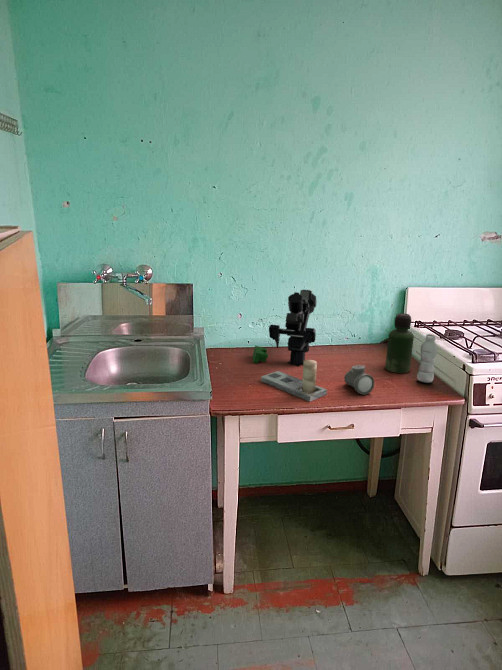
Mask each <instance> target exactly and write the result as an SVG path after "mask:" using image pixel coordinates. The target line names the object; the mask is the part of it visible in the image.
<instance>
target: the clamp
mask: <svg viewBox="0 0 502 670" xmlns="http://www.w3.org/2000/svg"><path fill="white" fill-rule="evenodd" d="M251 356H252V361H253V362H252V363H255V364H258V363H259V362H263V363H266V362H267V358H268V357H269V354H268V349H267V348H266V347H263V346H258V345H254V349H253V351H252V355H251Z"/></svg>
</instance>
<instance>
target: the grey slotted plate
mask: <svg viewBox="0 0 502 670" xmlns="http://www.w3.org/2000/svg"><path fill="white" fill-rule="evenodd" d="M302 381H303V379H301V378H297V377H295V376H292V375H290V374H287V373H285V372H282V371H279V370H277V371H274V372H271V373H268V374H264V375H262V376H260V382H261V383H264V384H267V385H269V386H272V387H274V388H276V389H279V390H281V391H284V392H286V393H289V394H291V395H293V396H296V397H298V398H301V399H302V400H305V401H307V402H312V401H315V400H317V399H320V398H321V397H324V396H327V395H328V389H326V388H324V387H321V386H319V385H315V392H314V393H312V394H308V393H305V392H303V391H302Z"/></svg>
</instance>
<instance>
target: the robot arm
mask: <svg viewBox="0 0 502 670" xmlns="http://www.w3.org/2000/svg"><path fill="white" fill-rule="evenodd" d="M299 291H300V292H294V293H292V294H290V295H289V296H288V297H287V301H288V302H287V303H288V304H287V305H288V311H289V312H286V317H285V324H284V325H285V326H284V327H285V328H282V327H280V324H270V325H269V326H268V334H269V338H270V339H272V340H274V341H275V346H276V348H277V349H278V348H279V346H280V340H281V339H280V337H281V335H286V336H288V339H287V350H288V352H290V355H289V356H290V357H289V360H288V361H287V364H290V365H293V366H296V367H301V366H303V363H304V361H305V360H306V353H308V352H309V351H310V344H312V343H315V342H316V338H317V337H316V336H317V335H316V334H317V333H316V331H317V330H316V329H315V328H313V327H308V322H309V319H310V318H309V317H310V315H311V314H312V313H314V311H315V308H316V307H317V296H316V295H315V294H313V291H312V290H310V289H300V290H299Z"/></svg>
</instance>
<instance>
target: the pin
mask: <svg viewBox="0 0 502 670" xmlns="http://www.w3.org/2000/svg"><path fill="white" fill-rule="evenodd" d="M302 366H303V367H302V380H303V381H302V391H303V392H305V393H308V394H312V393H314V392H315V385H316V382H317V366H318V362H317V361H316V360H314V359H313V360H312V359H305V361H304V363H303V365H302ZM316 386H317V385H316Z"/></svg>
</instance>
